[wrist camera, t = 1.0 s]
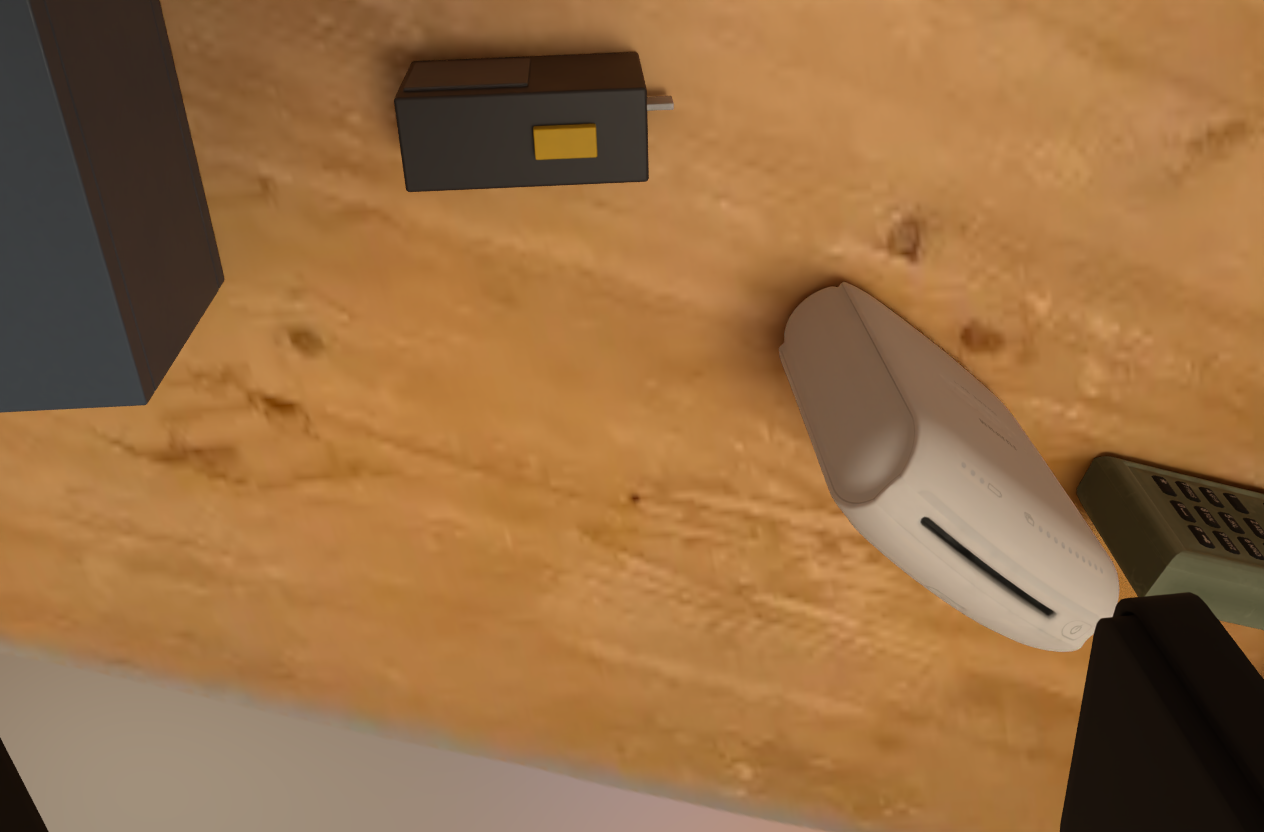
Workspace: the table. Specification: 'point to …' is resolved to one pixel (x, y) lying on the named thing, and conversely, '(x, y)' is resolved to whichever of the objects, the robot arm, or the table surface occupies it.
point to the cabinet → (95, 206)
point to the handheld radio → (1181, 535)
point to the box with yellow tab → (524, 121)
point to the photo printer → (942, 474)
